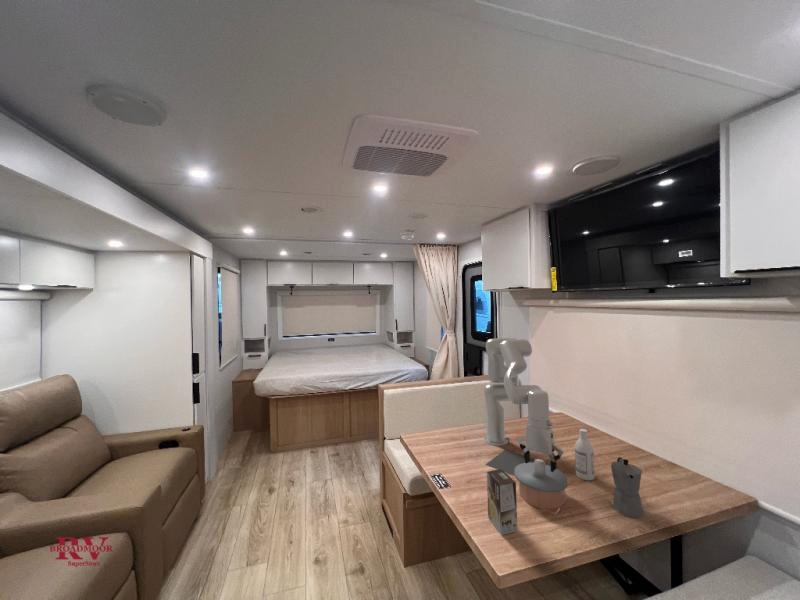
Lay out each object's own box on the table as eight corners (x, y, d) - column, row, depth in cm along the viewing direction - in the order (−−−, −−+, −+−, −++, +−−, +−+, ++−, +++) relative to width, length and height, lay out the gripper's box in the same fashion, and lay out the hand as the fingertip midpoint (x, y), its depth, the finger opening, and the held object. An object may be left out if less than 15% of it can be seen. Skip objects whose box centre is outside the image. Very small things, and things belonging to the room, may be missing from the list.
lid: (525, 460, 133) (525, 446, 134) (573, 476, 120) (573, 460, 120) (506, 478, 120) (505, 462, 120) (558, 499, 106) (558, 480, 107)
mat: (505, 450, 158) (505, 449, 158) (547, 463, 144) (547, 463, 144) (485, 465, 143) (485, 464, 143) (530, 482, 129) (530, 481, 129)
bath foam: (588, 472, 136) (586, 427, 137) (598, 481, 129) (596, 433, 130) (572, 472, 136) (571, 427, 137) (581, 481, 129) (580, 433, 130)
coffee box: (518, 531, 101) (517, 482, 101) (501, 535, 99) (499, 485, 100) (503, 513, 110) (501, 468, 110) (486, 516, 108) (485, 471, 109)
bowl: (528, 479, 131) (527, 463, 131) (569, 495, 120) (568, 477, 120) (512, 496, 119) (511, 478, 120) (556, 515, 108) (555, 495, 109)
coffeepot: (651, 525, 103) (648, 470, 103) (617, 518, 106) (615, 466, 107) (634, 498, 117) (633, 450, 118) (606, 493, 121) (604, 447, 121)
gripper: (565, 425, 117) (567, 470, 117) (520, 414, 129) (522, 455, 129) (559, 431, 112) (560, 478, 111) (513, 419, 124) (514, 462, 123)
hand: (540, 466), depth 120 cm, fingers open, 9 cm apart
